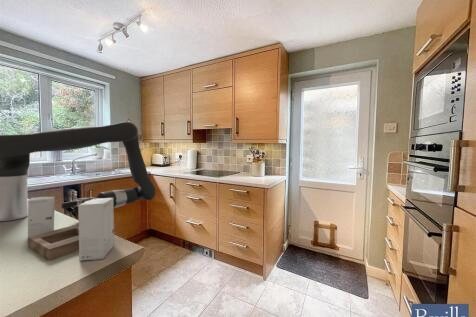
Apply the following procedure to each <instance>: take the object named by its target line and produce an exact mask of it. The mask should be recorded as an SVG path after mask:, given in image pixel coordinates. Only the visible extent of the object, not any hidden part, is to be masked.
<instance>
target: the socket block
mask: <svg viewBox="0 0 476 317" xmlns="http://www.w3.org/2000/svg"><path fill="white" fill-rule="evenodd" d="M27 249H30V250H32V251H33V252H35V253H36V254H38V255H40V256H41V257H43V258H45V259H46V260H48V261H52V260H56V259H58V258H62V257H64V256H65V255H69V254H72V253H74V252H79V224H74V225H73V224H72V225H69V226H65V227H62V228H58V229H54V230H53V231H49V232H45V233H42V234H38V235H34V236H30V237H27Z"/></svg>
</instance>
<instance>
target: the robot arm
mask: <svg viewBox="0 0 476 317" xmlns="http://www.w3.org/2000/svg"><path fill="white" fill-rule="evenodd" d="M119 142H122V143H123V146H124V149H125V152H126V156H127V160H128V161H127V162H128V167H129V171H130V174H131V177H132V181H133V182H134V183H135V184H136V185H139V186H134V187H131V188H123V189H113V190H107V191H100V192H99V193H98V194H97V196H96V197H94V196H92V197H91V196H87V197H86V196H85V197H80V198H74V199H72V200H70V201H67V202H61V209H63V210H65V209H70V208H72V213H74V214H75V213H78V205H80V204H82V203H84V202H86V201H89V200H92V199H99V198H113V209H115V208H120V207H122V206H125V205H130V204H134V203H135V202H136V201H151V200H153V199H154V198H155V196H156V195H157V194H156V188H155V186H154V183H153V182H152V180H151V178H150V177H149V174H148V171H147V168H146V163H145V160H144V157H143V155H142V152H141V151H142V150H141V147H140V142H139V129H138V127H137V126H136V124H134V123H132V122H131V121H121V122H117V123H111V124H108V125H101V126H73V127H67V128H66V127H65V128H58V129H52V130H46V131H45V130H44V131H41V132H34V133H25V134H23V133H22V134H0V222H9V221H14V220H16V221H17V220H19V219H22V218H23V219H24V218H26V217H28V200H29V199H28V170H29V167H30V160H31V158H30V157H31V154H33V153H39V152H61V151H71V150H76V149H77V150H79V149H84V148H88V147H93V146H97V145H101V144H107V143H119Z"/></svg>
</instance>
